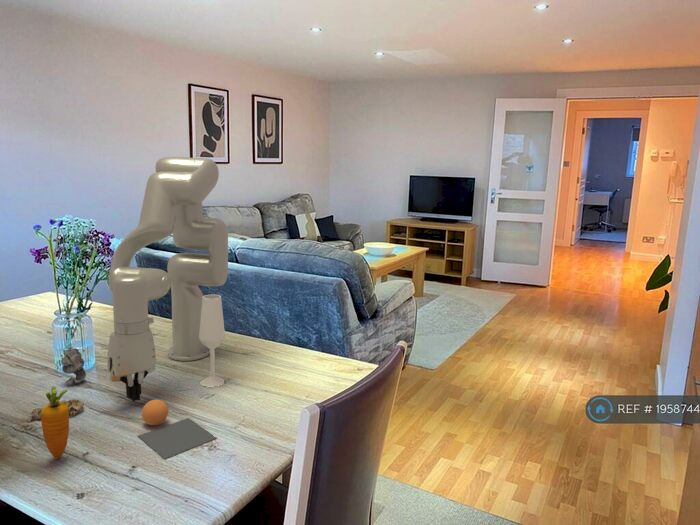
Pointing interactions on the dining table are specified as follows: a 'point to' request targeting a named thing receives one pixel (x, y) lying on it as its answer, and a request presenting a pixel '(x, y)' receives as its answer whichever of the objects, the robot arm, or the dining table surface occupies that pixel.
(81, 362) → the seashell
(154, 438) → the slate mark
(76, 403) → the mineral rock
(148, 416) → the ball
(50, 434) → the carrot
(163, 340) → the dining table surface
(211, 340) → the champagne flute
